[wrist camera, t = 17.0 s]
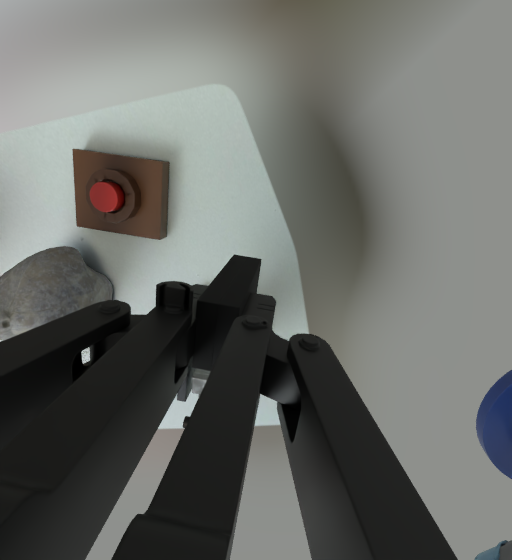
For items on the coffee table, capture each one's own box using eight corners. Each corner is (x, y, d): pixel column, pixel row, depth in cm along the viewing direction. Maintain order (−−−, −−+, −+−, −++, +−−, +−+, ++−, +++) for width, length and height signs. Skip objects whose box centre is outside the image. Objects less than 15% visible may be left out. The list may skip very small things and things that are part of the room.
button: (124, 183, 40) (117, 184, 38) (124, 212, 41) (117, 214, 39) (97, 179, 40) (88, 179, 38) (98, 208, 41) (90, 210, 39)
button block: (169, 162, 42) (156, 160, 38) (166, 237, 45) (154, 242, 41) (83, 149, 43) (62, 147, 39) (86, 224, 46) (67, 228, 42)
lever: (226, 424, 44) (221, 441, 42) (187, 416, 45) (181, 433, 43) (229, 367, 37) (225, 384, 35) (184, 358, 38) (177, 374, 36)
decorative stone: (119, 333, 51) (51, 394, 37) (60, 328, 52) (-28, 385, 38) (108, 241, 46) (25, 270, 32) (43, 237, 48) (-65, 264, 33)
